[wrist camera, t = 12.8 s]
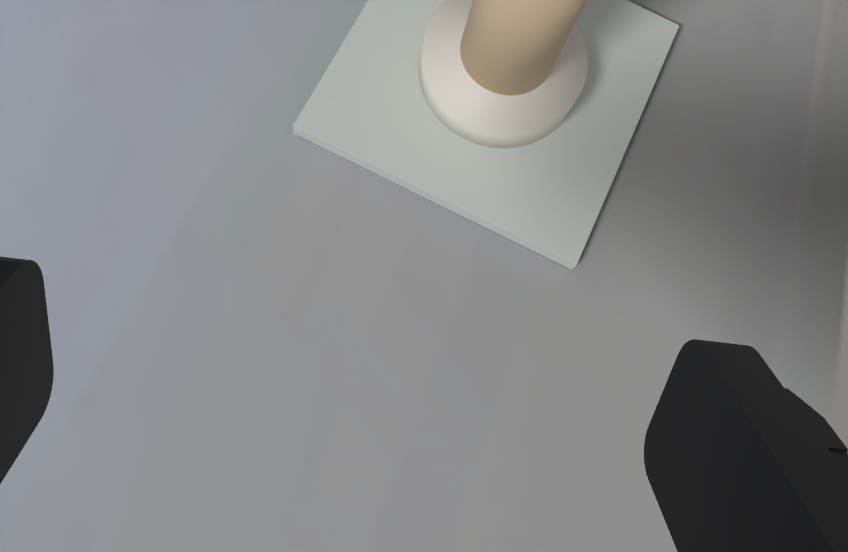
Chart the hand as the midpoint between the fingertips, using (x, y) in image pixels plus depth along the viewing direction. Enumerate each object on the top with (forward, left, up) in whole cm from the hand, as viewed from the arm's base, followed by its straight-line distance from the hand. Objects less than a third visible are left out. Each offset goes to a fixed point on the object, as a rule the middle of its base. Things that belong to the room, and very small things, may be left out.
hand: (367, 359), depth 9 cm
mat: (-1, +15, -17) cm, 23 cm away
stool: (-1, +15, -16) cm, 22 cm away
